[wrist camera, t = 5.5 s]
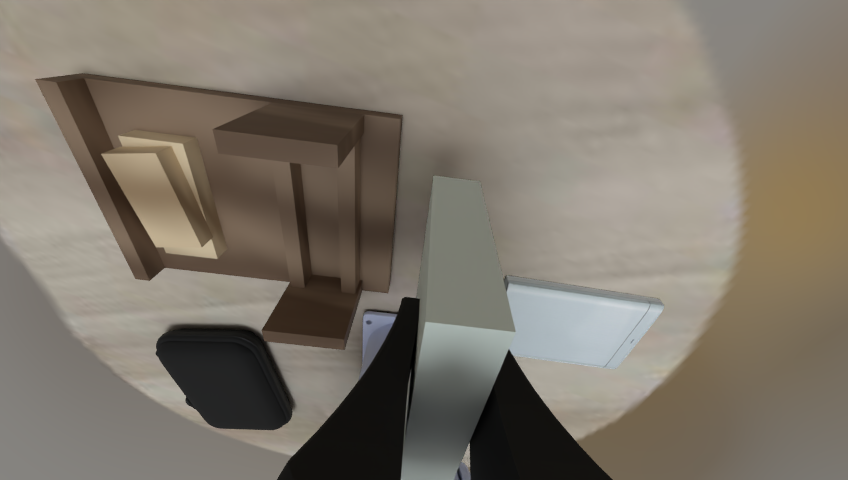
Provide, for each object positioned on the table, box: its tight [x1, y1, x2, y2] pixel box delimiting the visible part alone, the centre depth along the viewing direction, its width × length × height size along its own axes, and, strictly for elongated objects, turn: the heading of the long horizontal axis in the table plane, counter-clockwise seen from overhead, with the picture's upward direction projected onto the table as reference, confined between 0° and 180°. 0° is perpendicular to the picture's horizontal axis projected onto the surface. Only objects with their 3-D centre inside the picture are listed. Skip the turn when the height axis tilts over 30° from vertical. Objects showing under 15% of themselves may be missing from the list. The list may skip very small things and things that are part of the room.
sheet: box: [401, 175, 516, 480], centre depth 13 cm, size 9×2×8 cm, turn 173°
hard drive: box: [504, 275, 664, 369], centre depth 27 cm, size 2×8×12 cm
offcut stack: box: [101, 130, 227, 259], centre depth 20 cm, size 8×4×2 cm, turn 173°
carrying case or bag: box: [156, 329, 292, 430], centre depth 32 cm, size 11×3×15 cm
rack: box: [35, 73, 402, 350], centre depth 19 cm, size 13×18×6 cm
